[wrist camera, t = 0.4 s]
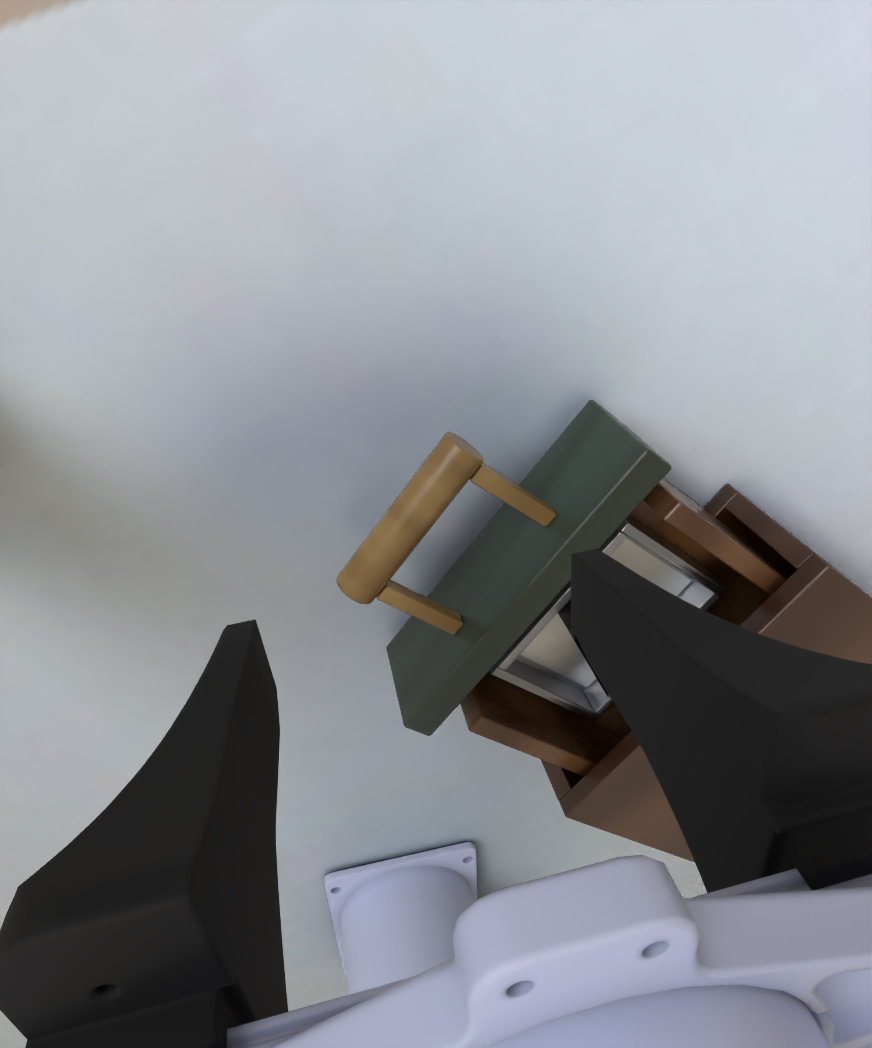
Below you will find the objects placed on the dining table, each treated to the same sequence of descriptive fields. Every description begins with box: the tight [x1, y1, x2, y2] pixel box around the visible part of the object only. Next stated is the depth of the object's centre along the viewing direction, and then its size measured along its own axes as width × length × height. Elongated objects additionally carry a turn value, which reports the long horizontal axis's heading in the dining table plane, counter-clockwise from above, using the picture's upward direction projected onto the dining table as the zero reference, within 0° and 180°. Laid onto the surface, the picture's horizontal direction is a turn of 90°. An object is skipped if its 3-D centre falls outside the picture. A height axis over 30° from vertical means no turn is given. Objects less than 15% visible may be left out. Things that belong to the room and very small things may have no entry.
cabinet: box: [541, 484, 872, 862], centre depth 31 cm, size 17×14×6 cm
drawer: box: [337, 400, 792, 776], centre depth 26 cm, size 20×12×4 cm, turn 52°
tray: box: [490, 515, 727, 721], centre depth 25 cm, size 6×8×5 cm
